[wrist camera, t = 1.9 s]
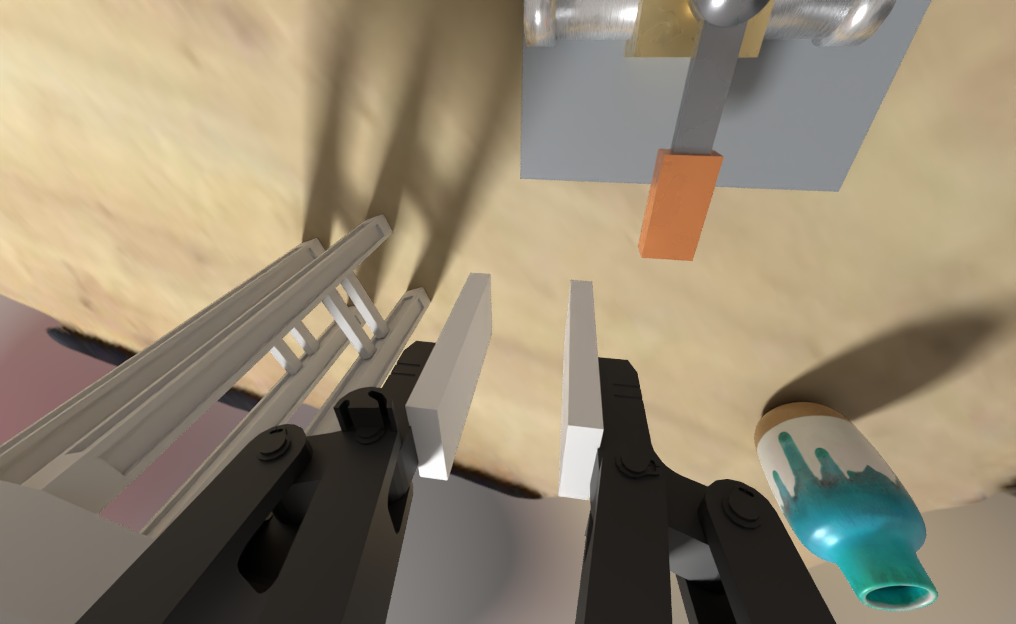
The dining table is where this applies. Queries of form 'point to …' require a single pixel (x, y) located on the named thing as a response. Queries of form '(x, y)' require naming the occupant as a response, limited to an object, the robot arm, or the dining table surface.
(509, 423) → the dining table surface
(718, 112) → the valve lever
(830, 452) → the vase
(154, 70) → the dining table surface
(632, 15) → the valve pipe
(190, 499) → the stool
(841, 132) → the valve board
